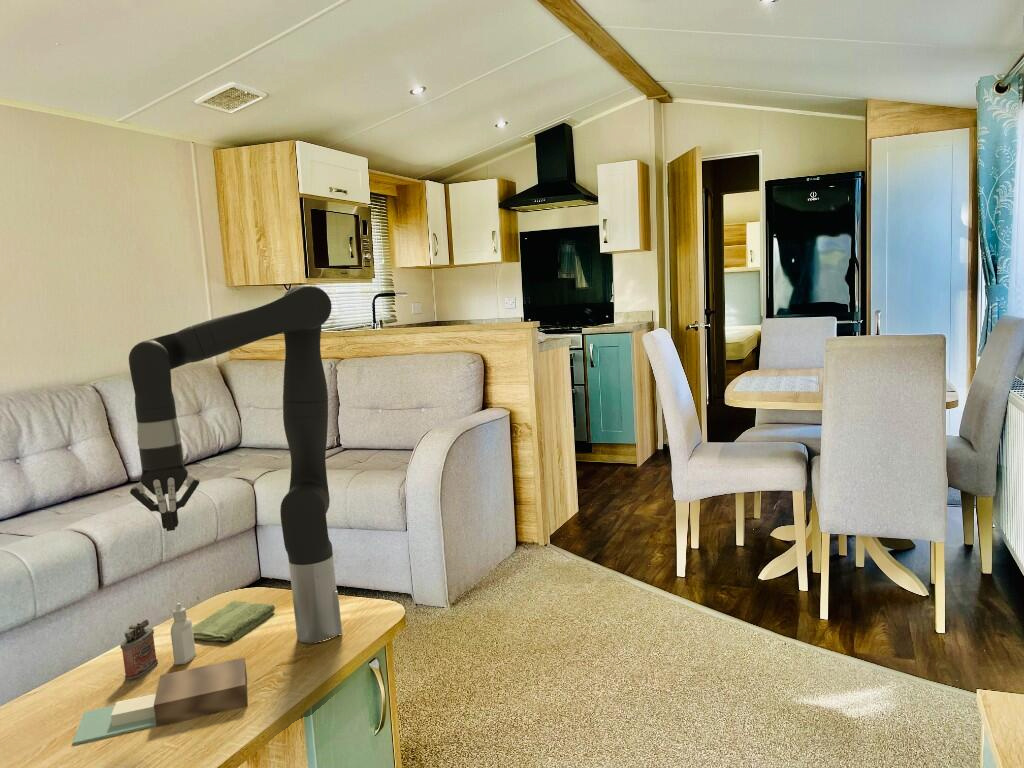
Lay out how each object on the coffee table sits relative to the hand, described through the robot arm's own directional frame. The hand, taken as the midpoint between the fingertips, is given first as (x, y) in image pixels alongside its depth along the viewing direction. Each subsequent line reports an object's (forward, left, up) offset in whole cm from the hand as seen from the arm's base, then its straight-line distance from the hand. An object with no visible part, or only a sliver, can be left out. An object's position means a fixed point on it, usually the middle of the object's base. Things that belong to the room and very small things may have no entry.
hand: (171, 529), depth 150 cm
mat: (+10, +15, -29) cm, 34 cm away
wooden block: (-4, +15, -29) cm, 33 cm away
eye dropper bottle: (+1, -6, -29) cm, 30 cm away
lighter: (+9, -4, -29) cm, 31 cm away
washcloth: (-8, -20, -30) cm, 37 cm away
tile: (+8, +15, -29) cm, 33 cm away
